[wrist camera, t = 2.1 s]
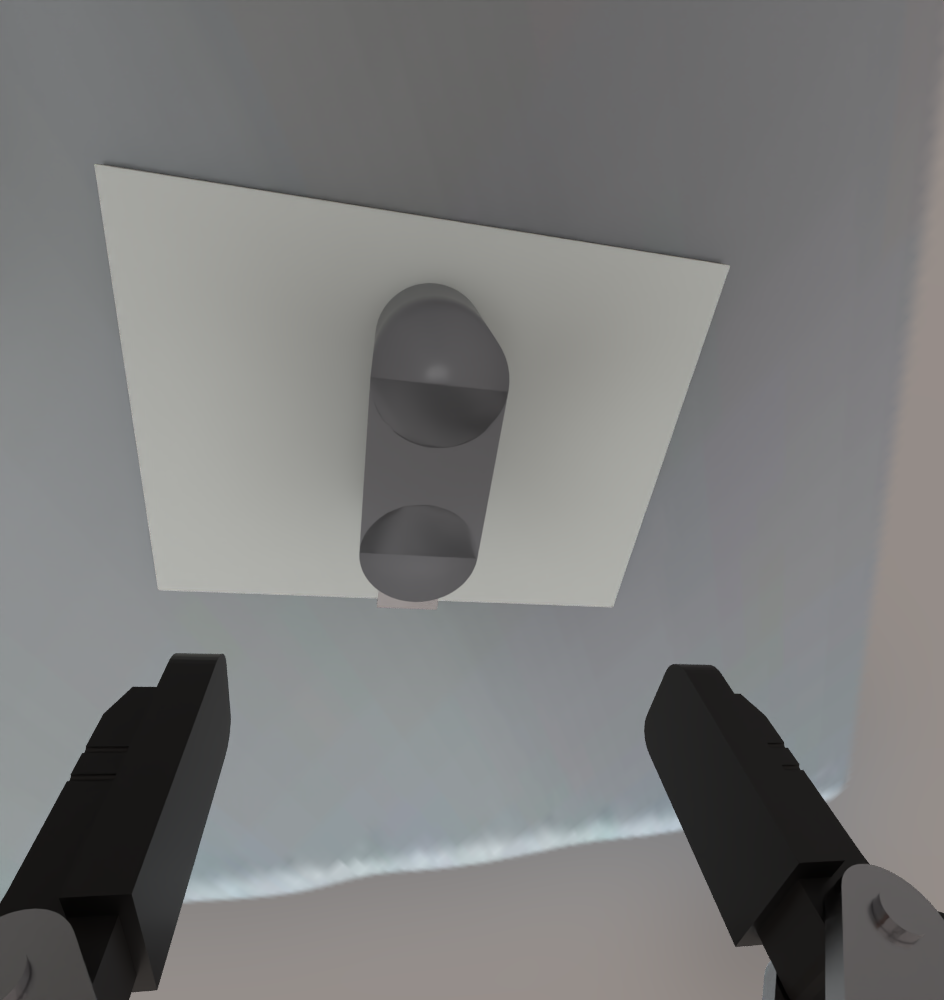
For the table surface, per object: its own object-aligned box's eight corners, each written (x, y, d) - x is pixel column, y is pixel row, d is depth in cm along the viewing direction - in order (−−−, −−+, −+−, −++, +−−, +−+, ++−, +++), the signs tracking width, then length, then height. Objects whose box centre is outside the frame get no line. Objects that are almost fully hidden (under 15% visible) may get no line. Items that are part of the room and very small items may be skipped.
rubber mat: (103, 164, 17) (94, 163, 17) (721, 263, 21) (730, 265, 20) (163, 581, 25) (158, 590, 24) (608, 599, 28) (612, 607, 28)
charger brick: (378, 275, 19) (375, 303, 15) (493, 291, 20) (521, 322, 16) (360, 562, 25) (353, 642, 20) (449, 566, 26) (461, 645, 21)
